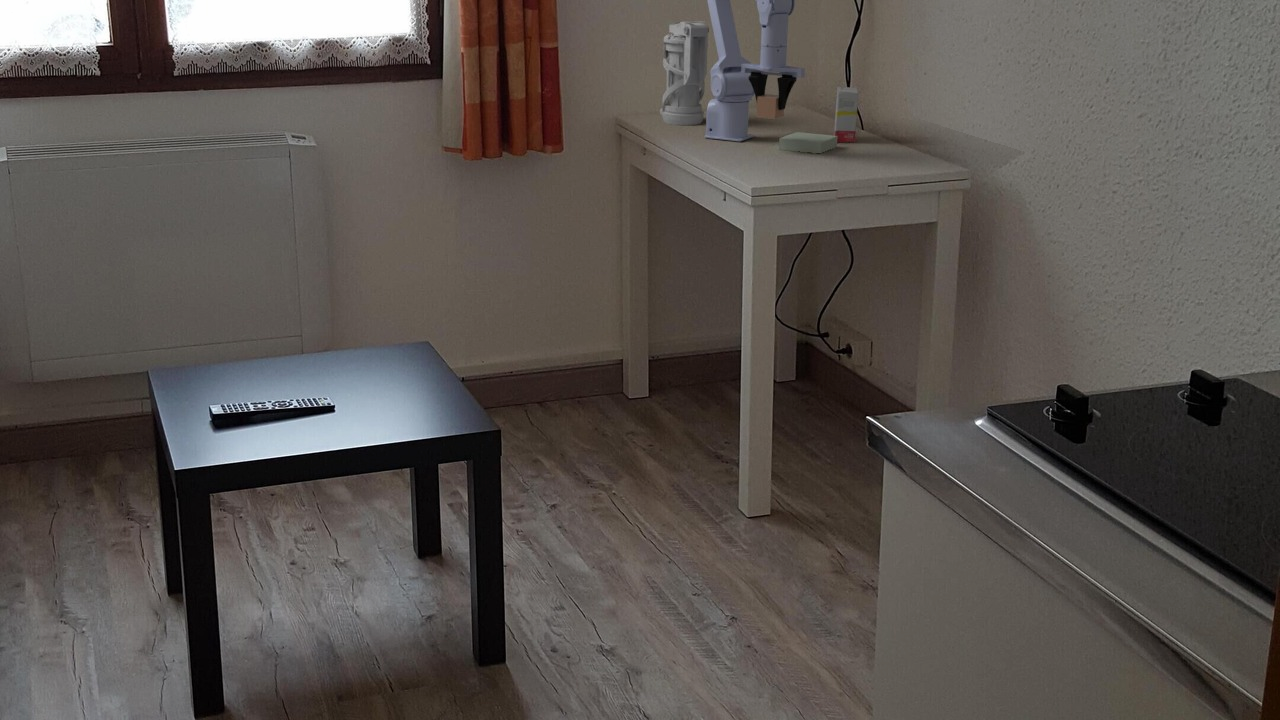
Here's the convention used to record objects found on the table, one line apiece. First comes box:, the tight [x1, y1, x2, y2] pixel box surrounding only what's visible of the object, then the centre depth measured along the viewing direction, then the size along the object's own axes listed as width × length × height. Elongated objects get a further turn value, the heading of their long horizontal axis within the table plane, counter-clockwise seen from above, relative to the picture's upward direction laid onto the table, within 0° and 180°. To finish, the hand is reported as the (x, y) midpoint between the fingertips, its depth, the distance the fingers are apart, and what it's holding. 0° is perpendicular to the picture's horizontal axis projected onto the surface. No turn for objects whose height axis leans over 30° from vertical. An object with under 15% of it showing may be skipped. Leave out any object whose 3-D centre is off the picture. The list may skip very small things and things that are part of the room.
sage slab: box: [778, 131, 838, 154], centre depth 308 cm, size 10×10×2 cm
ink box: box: [833, 86, 859, 144], centre depth 317 cm, size 9×5×12 cm, turn 173°
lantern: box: [659, 20, 710, 126], centre depth 335 cm, size 13×10×25 cm
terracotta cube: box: [756, 93, 785, 120], centre depth 302 cm, size 4×4×4 cm
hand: (771, 108), depth 302 cm, fingers closed on terracotta cube, 4 cm apart
